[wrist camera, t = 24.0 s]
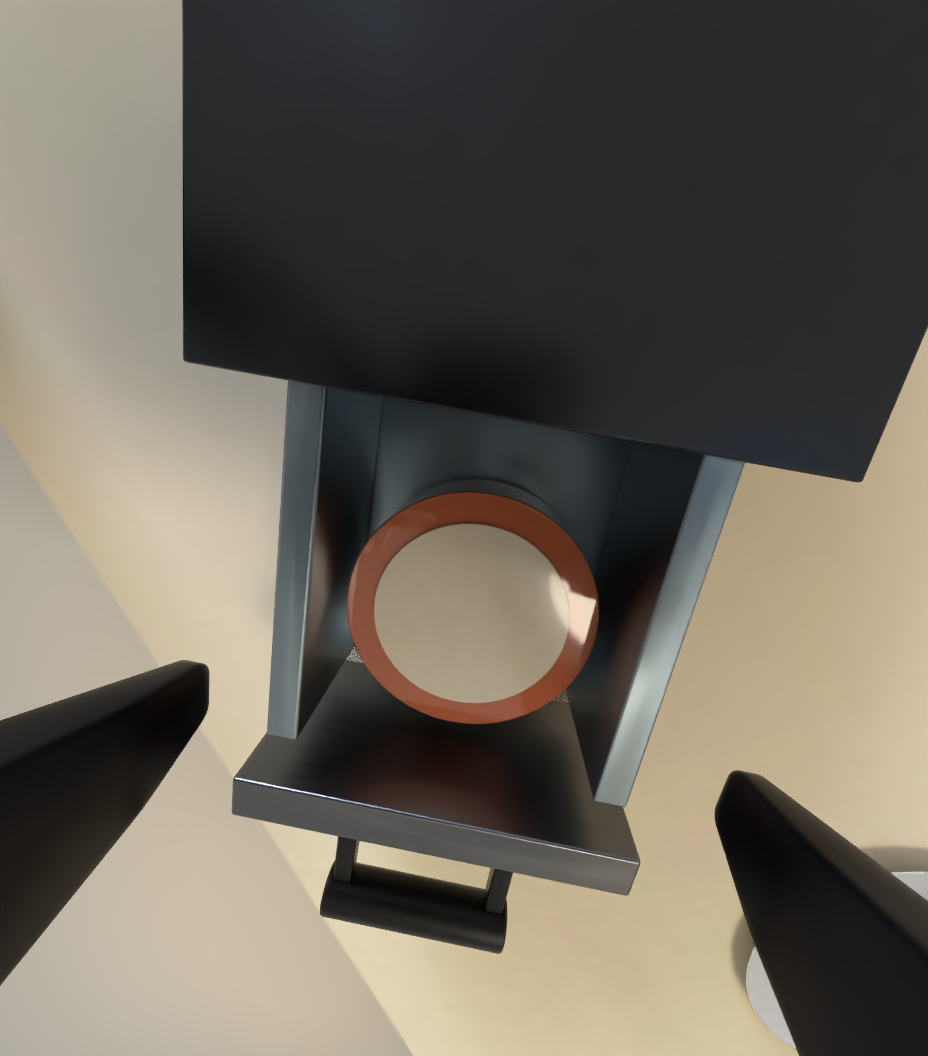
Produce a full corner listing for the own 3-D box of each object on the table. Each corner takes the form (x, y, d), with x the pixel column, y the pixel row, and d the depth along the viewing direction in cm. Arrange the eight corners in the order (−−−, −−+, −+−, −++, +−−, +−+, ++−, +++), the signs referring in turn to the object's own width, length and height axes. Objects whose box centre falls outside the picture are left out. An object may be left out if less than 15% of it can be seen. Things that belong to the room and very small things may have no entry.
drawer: (550, 846, 18) (574, 1042, 12) (308, 796, 18) (224, 966, 13) (703, 328, 13) (870, 257, 7) (358, 268, 13) (253, 154, 7)
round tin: (361, 651, 15) (333, 701, 12) (386, 458, 13) (358, 469, 11) (554, 689, 15) (566, 748, 12) (604, 499, 13) (632, 520, 10)
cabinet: (675, 448, 14) (863, 483, 7) (339, 388, 15) (182, 361, 7) (870, -200, 10) (1806, -1737, 3) (398, -266, 11) (175, -1814, 3)
